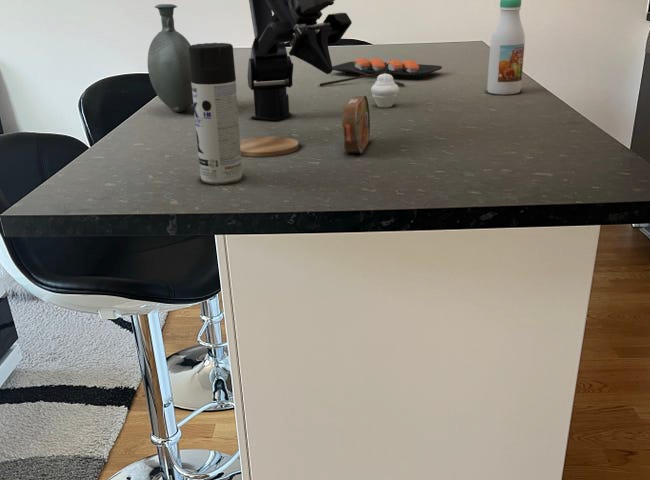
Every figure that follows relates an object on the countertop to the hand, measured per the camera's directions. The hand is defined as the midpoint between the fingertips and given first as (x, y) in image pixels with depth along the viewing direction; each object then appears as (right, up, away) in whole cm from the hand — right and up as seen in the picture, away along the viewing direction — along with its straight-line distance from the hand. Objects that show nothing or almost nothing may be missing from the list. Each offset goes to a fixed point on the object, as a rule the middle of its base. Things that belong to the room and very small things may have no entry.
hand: (330, 72), depth 137 cm
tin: (+5, -13, +2) cm, 14 cm away
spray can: (-17, -22, -14) cm, 31 cm away
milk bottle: (+41, +12, +45) cm, 62 cm away
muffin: (+13, +5, +35) cm, 37 cm away
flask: (-34, +5, +37) cm, 50 cm away
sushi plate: (+12, +23, +67) cm, 72 cm away
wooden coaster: (-12, -13, +3) cm, 18 cm away
